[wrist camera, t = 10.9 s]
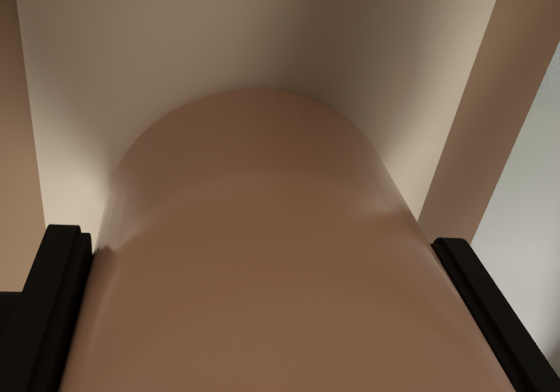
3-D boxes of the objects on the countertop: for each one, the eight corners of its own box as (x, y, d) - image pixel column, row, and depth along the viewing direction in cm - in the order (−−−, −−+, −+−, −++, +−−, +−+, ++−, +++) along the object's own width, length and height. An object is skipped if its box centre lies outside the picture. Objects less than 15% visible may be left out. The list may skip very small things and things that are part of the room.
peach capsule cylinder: (422, 103, 12) (792, 530, 4) (354, 318, 16) (494, 744, 8) (101, 74, 11) (-129, 612, 3) (111, 317, 14) (18, 823, 7)
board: (608, -164, 11) (651, -164, 10) (391, 375, 21) (401, 403, 20) (-130, -314, 8) (-176, -336, 7) (16, 383, 18) (5, 416, 17)
